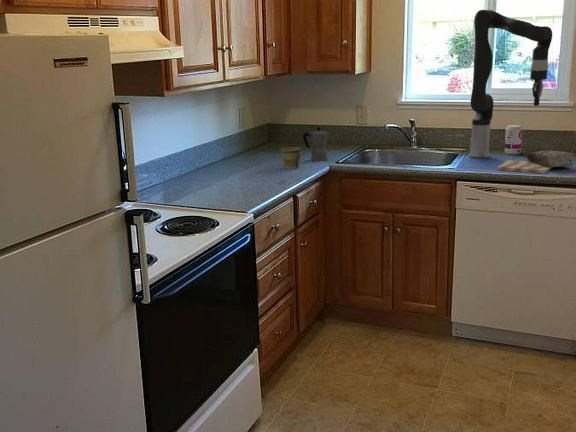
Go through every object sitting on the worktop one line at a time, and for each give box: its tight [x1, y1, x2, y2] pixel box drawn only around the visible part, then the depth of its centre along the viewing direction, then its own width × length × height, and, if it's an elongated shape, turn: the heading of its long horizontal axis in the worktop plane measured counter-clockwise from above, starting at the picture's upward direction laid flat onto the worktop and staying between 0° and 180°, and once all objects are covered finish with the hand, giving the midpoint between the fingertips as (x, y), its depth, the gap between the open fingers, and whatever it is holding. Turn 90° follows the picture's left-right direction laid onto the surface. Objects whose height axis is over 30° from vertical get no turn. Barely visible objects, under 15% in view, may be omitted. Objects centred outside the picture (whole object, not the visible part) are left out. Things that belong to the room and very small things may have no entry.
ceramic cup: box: [280, 146, 305, 170], centre depth 321 cm, size 13×10×10 cm
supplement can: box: [504, 124, 523, 155], centre depth 342 cm, size 8×8×15 cm
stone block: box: [525, 149, 574, 168], centre depth 306 cm, size 13×7×20 cm
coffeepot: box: [302, 126, 331, 162], centre depth 340 cm, size 15×9×18 cm, turn 99°
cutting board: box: [496, 159, 553, 175], centre depth 305 cm, size 22×20×2 cm
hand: (536, 105), depth 309 cm, fingers closed
